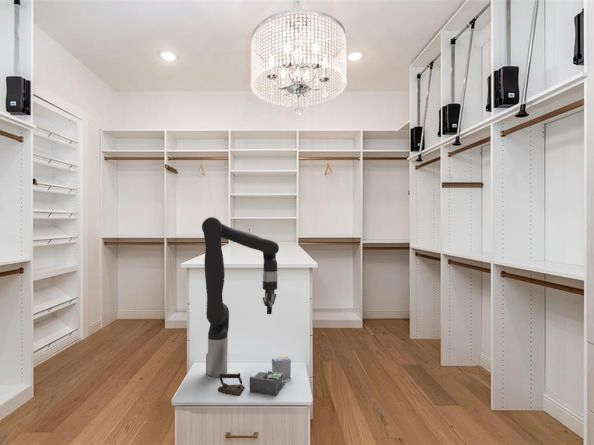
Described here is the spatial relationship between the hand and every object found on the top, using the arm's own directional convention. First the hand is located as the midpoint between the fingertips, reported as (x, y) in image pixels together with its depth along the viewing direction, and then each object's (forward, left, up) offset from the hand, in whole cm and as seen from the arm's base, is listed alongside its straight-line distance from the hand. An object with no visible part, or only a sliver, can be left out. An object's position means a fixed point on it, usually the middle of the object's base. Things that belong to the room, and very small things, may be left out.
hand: (269, 313), depth 171 cm
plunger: (+10, -21, -25) cm, 34 cm away
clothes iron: (-6, -30, -27) cm, 41 cm away
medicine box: (+10, -11, -27) cm, 31 cm away
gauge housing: (+9, -23, -26) cm, 36 cm away
